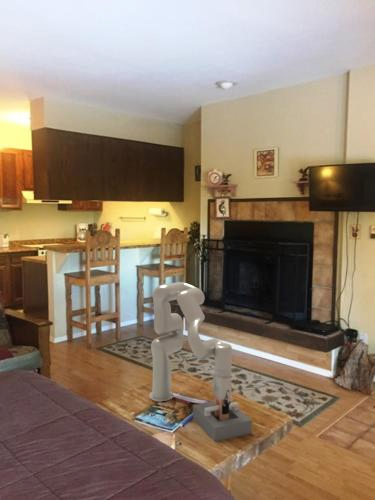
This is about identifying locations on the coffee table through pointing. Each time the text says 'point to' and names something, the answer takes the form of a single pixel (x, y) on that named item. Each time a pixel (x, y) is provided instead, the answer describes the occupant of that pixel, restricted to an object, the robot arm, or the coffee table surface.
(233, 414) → the grey rectangular frame
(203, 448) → the coffee table surface
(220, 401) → the clip
